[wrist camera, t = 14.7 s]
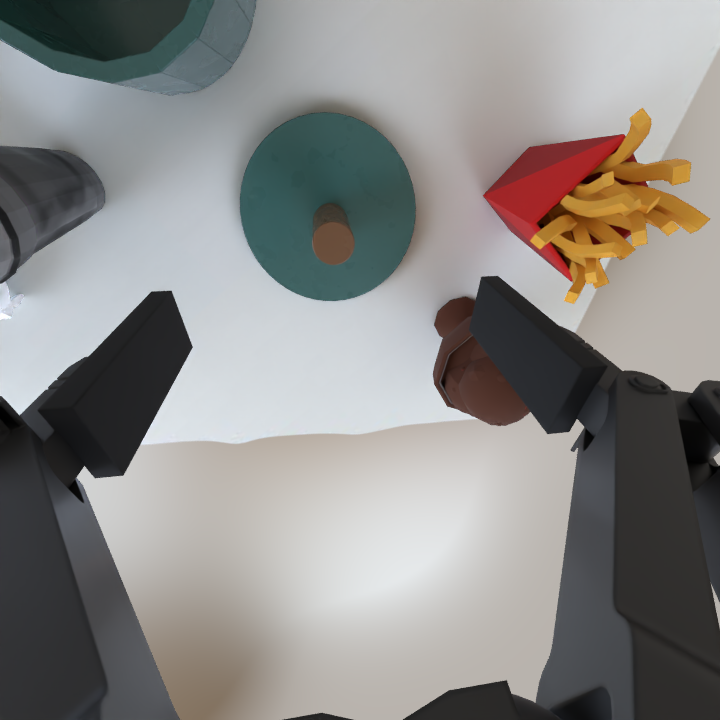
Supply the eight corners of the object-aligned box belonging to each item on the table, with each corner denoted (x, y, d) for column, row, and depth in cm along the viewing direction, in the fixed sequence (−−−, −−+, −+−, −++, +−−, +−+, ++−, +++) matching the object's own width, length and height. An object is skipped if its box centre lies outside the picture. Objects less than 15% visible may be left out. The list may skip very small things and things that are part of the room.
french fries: (570, 187, 29) (747, 232, 17) (495, 257, 32) (600, 335, 20) (520, 105, 25) (708, 87, 13) (440, 194, 28) (532, 245, 16)
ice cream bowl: (433, 371, 40) (482, 475, 28) (395, 305, 34) (437, 401, 22) (514, 332, 38) (604, 427, 26) (489, 252, 32) (593, 329, 20)
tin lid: (260, 299, 32) (246, 340, 26) (222, 112, 23) (188, 107, 17) (405, 293, 33) (424, 330, 27) (421, 113, 25) (456, 109, 18)
